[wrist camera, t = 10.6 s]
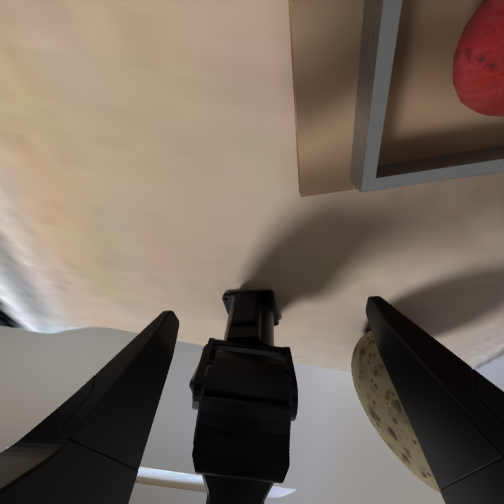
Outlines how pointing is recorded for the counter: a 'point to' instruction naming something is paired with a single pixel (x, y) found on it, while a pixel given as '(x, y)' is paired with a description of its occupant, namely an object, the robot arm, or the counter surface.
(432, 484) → the decorative egg
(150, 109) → the counter surface
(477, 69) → the onion
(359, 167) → the square metal frame
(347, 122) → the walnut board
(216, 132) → the counter surface
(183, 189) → the counter surface
